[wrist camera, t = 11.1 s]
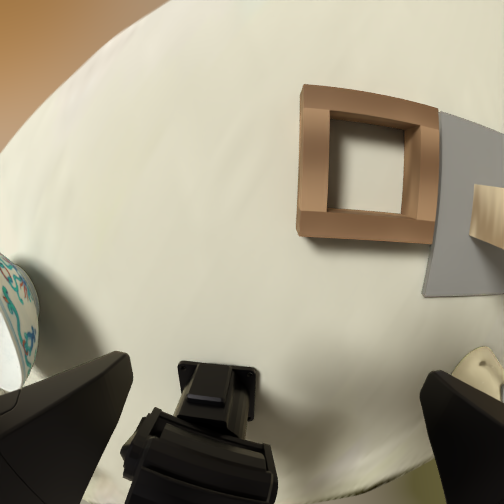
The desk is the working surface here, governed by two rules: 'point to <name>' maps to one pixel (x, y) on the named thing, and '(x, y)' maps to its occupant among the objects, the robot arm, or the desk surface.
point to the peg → (488, 215)
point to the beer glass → (482, 372)
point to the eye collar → (415, 166)
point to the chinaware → (17, 325)
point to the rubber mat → (464, 211)
